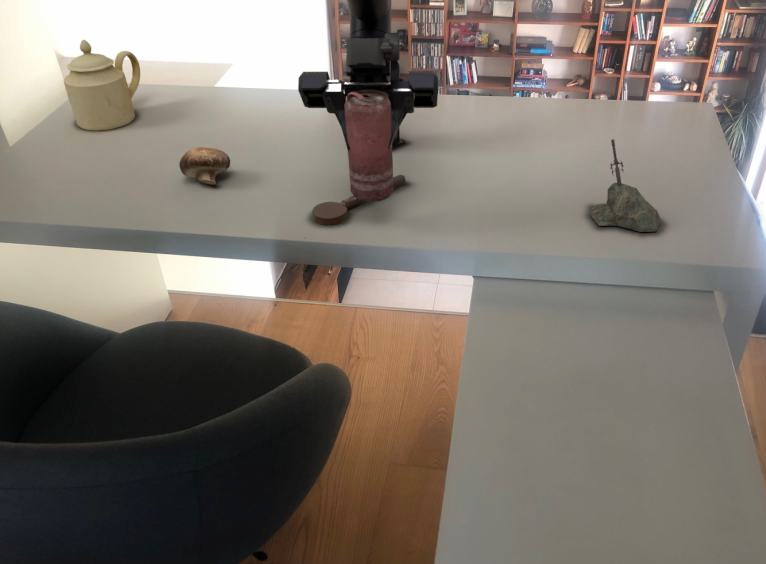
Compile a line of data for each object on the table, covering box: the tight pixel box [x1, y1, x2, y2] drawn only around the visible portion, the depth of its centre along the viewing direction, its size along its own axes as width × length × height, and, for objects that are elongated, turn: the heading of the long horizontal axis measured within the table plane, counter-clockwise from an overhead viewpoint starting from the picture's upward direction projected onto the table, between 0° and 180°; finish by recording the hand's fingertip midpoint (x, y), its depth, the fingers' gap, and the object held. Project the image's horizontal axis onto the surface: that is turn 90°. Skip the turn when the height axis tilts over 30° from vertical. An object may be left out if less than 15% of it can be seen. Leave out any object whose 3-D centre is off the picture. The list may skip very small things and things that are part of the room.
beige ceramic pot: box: [63, 39, 141, 131], centre depth 133 cm, size 15×11×15 cm
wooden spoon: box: [311, 174, 407, 226], centre depth 107 cm, size 18×5×2 cm, turn 135°
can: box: [344, 90, 394, 203], centre depth 95 cm, size 6×6×14 cm
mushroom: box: [178, 146, 231, 186], centre depth 113 cm, size 8×8×6 cm
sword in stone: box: [590, 138, 662, 233], centre depth 99 cm, size 10×8×12 cm
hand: (368, 150), depth 94 cm, fingers closed on can, 5 cm apart
